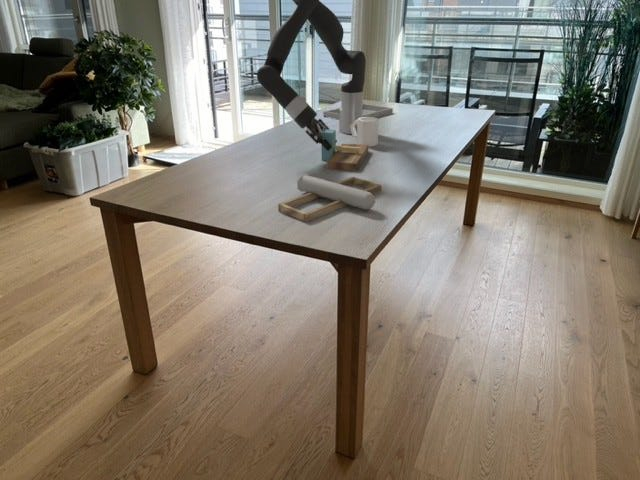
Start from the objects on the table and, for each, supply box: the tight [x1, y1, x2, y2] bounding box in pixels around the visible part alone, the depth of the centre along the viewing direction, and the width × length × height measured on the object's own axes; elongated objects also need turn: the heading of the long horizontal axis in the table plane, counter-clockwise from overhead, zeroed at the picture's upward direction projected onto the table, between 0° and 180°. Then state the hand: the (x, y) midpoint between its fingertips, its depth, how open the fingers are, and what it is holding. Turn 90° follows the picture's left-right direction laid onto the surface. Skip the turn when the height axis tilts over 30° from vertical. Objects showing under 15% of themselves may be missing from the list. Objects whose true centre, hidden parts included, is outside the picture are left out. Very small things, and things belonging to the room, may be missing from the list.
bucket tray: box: [322, 103, 394, 120], centre depth 241 cm, size 21×29×2 cm
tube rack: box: [277, 176, 382, 223], centre depth 136 cm, size 11×31×2 cm, turn 135°
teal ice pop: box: [321, 129, 361, 162], centre depth 171 cm, size 14×5×10 cm, turn 75°
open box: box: [326, 143, 369, 172], centre depth 172 cm, size 10×24×3 cm, turn 165°
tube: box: [296, 173, 376, 211], centre depth 135 cm, size 5×5×25 cm
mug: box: [350, 117, 380, 147], centre depth 190 cm, size 12×9×10 cm
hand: (332, 146), depth 172 cm, fingers open, 7 cm apart
